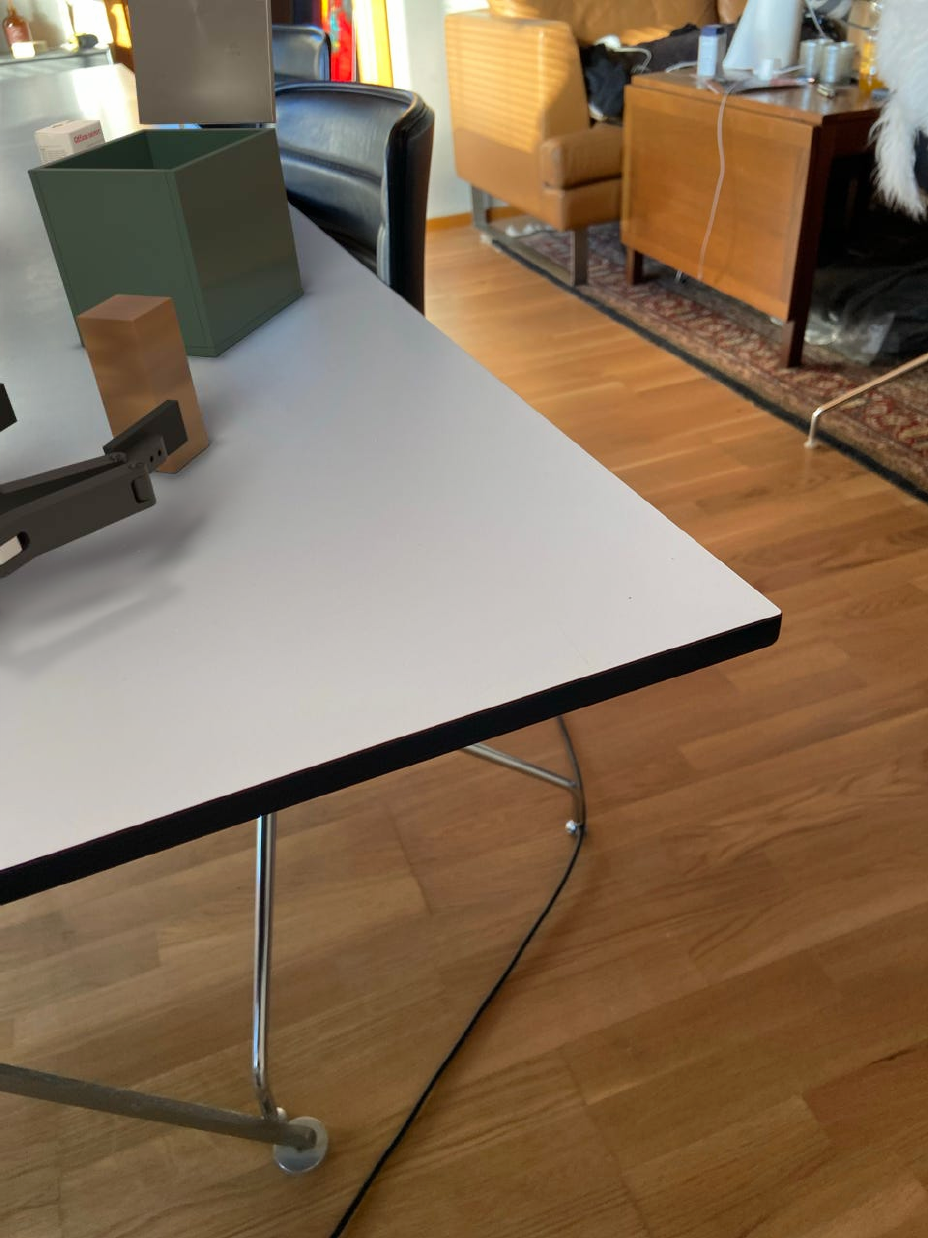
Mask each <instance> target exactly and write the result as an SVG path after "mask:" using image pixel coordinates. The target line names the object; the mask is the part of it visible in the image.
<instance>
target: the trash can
mask: <svg viewBox="0 0 928 1238" xmlns="http://www.w3.org/2000/svg"><path fill="white" fill-rule="evenodd" d="M27 174H28V178H29V180H30V183H31V186H32V190H33V193H34V197H35V200H36V203H37V207H38V209H39V213H40V215H41V219H42V221H43V225H44V228H45V231H46V234H47V238H48V241H49V244H50V248H51V251H52V254H53V257H54V261H55V263H56V266H57V270H58V273H59V276H60V279H61V282H62V286H63V289H64V292H65V295H66V299H67V302H68V305H69V308H70V311H71V315H72V318H73V321H74V324H75V328H76V330H77V333H78V334H77V335H78V337H79V340H80V344H81V347H83V348H84V347H85V344H84V341H83V338H82V335H81V332H80V328H79V325H78V322H77V319H76V317H77V316H79V315H81V314H82V313H84V312H86V311H88V310H90V309H91V308H93V307H95V306H97V305H99V304H100V303H102V302H104V301H106V300H108V299H109V298H111V297H113V296H115V295H117V294H123V295H141V296H159V297H172V299H173V303H174V307H175V311H176V315H177V319H178V323H179V327H180V331H181V335H182V339H183V343H184V347H185V351H186V355H187V356H198V357H210V358H211V357H212V358H217V357H218V356H220V355H221V354H223V353H224V352H225V351H227V350H228V349H230V348H231V347H233V346H234V345H235V344H236V343H238V342H239V341H241V340H242V339H244V338H245V337H246V336H248V335H249V334H250V333H252V332H253V331H254V330H256V329H258V328H259V327H260V326H261V325H263V324H264V323H266V322H267V321H269V320H270V319H271V318H273V317H274V316H275V315H277V314H279V313H280V312H281V311H283V310H284V309H285V308H287V307H288V306H289V305H291V304H292V303H294V302H295V301H296V300H297V299H299V298H301V297H302V296H304V290H303V284H302V277H301V271H300V266H299V260H298V254H297V248H296V242H295V237H294V231H293V230H294V229H293V225H292V224H293V223H292V219H291V213H290V207H289V202H288V196H287V195H288V194H287V188H286V183H285V177H284V172H283V166H282V159H281V154H280V148H279V143H278V136H277V130H276V128H275V127H240V128H239V127H237V128H236V127H233V128H231V127H230V128H228V127H227V128H226V127H224V128H223V127H222V128H220V127H219V128H216V127H215V128H184V129H179V128H143V129H139V130H137V131H134V132H130V133H128V134H126V135H122V136H119V137H117V138H114V139H112V140H109V141H105V143H103V144H100V145H97V146H95V147H92V148H89V149H86V150H84V151H81V152H78V153H75V154H72V155H70V156H67V157H64V158H61V159H58V160H56V161H53V162H50V163H47V164H44V165H43V164H42V165H39V166H37V167H33V168H30V169H28V170H27Z"/></svg>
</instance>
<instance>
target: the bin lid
mask: <svg viewBox="0 0 928 1238" xmlns="http://www.w3.org/2000/svg"><path fill="white" fill-rule="evenodd" d="M271 1H272V0H127V5H128V16H129V17H128V18H129V25H130V39H131V48H132V58H133V70H134V80H135V81H134V82H135V91H136V101H137V109H138V110H137V112H138V113H137V114H138V122H139V125H143V126H145V125H148V126H149V125H152V126H153V125H157V126H158V125H179V124H184V125H234V124H235V125H236V124H237V125H239V124H240V125H241V124H242V125H243V124H244V125H249V124H277V109H276V88H275V66H274V65H275V64H274V47H273V46H274V44H273V23H272V4H271V3H272V2H271Z"/></svg>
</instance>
